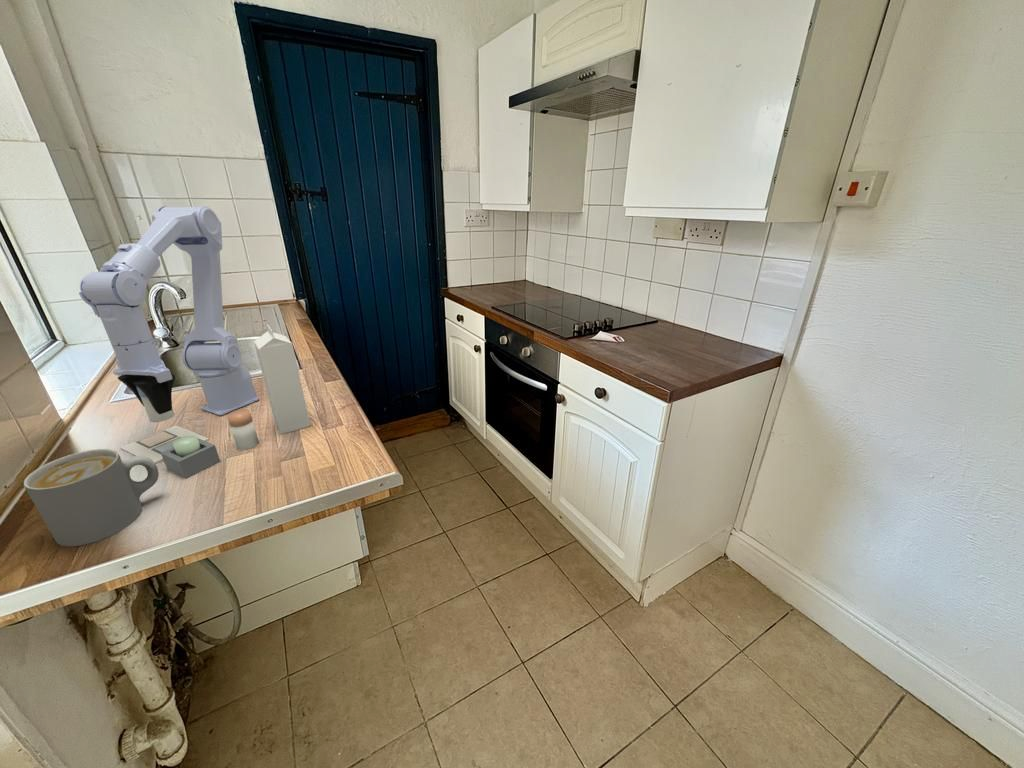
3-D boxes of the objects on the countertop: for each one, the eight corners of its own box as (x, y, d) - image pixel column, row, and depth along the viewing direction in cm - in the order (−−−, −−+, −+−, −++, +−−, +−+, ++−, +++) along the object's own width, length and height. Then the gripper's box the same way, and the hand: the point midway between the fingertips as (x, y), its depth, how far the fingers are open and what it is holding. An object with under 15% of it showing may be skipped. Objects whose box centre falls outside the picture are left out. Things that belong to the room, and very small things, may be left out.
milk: (280, 435, 88) (253, 333, 79) (275, 423, 93) (248, 326, 84) (311, 426, 92) (288, 327, 83) (304, 415, 96) (282, 321, 87)
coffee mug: (52, 557, 58) (17, 499, 54) (58, 520, 65) (28, 465, 61) (172, 513, 66) (150, 460, 62) (166, 484, 73) (145, 434, 69)
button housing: (201, 453, 82) (196, 437, 81) (220, 461, 80) (214, 445, 78) (167, 469, 77) (160, 452, 76) (185, 478, 75) (179, 461, 73)
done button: (196, 449, 80) (190, 433, 79) (207, 454, 78) (201, 438, 77) (174, 459, 77) (168, 442, 76) (185, 464, 76) (179, 447, 74)
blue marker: (169, 411, 84) (157, 378, 81) (178, 415, 82) (167, 382, 79) (145, 419, 81) (132, 385, 78) (155, 424, 79) (141, 389, 76)
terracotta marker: (251, 437, 87) (242, 407, 84) (263, 442, 86) (254, 411, 83) (232, 446, 84) (222, 415, 81) (244, 451, 82) (234, 420, 80)
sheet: (176, 426, 92) (175, 424, 92) (208, 439, 87) (208, 437, 87) (120, 448, 84) (119, 447, 84) (152, 464, 79) (151, 462, 78)
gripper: (84, 341, 75) (114, 410, 80) (125, 354, 69) (154, 427, 74) (132, 331, 81) (156, 395, 86) (174, 341, 74) (197, 410, 80)
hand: (158, 409), depth 80 cm, fingers closed on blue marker, 4 cm apart
